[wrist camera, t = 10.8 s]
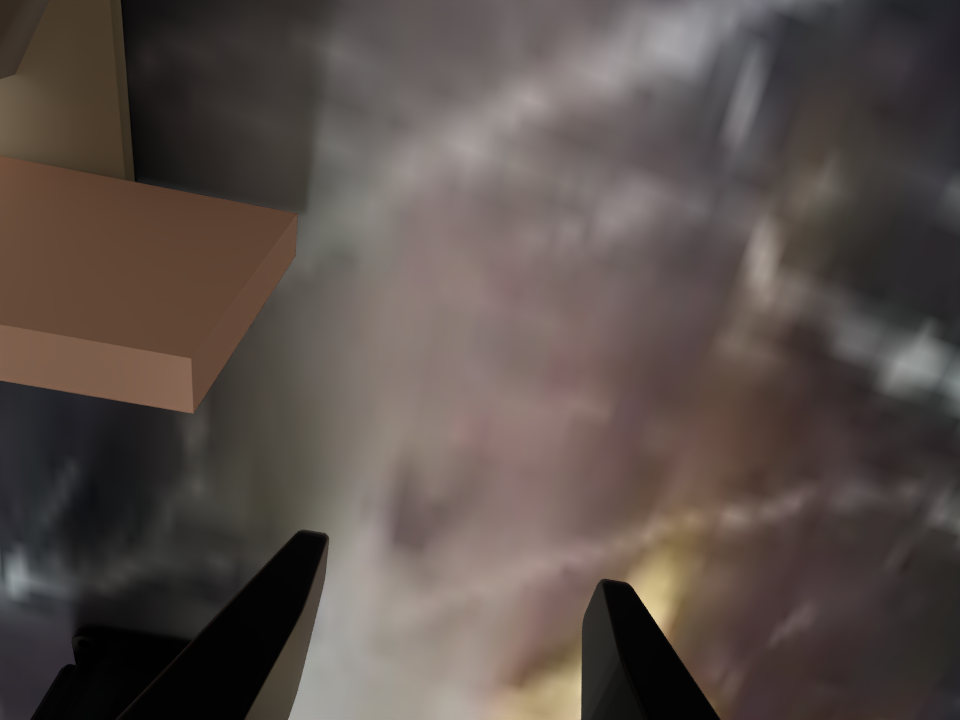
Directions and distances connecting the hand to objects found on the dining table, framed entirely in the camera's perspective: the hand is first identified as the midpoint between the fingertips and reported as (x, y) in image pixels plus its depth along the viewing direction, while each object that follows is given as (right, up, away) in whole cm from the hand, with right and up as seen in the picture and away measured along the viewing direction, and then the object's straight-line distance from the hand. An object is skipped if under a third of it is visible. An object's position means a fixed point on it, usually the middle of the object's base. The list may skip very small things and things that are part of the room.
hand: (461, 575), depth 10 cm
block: (-8, +7, +9) cm, 14 cm away
